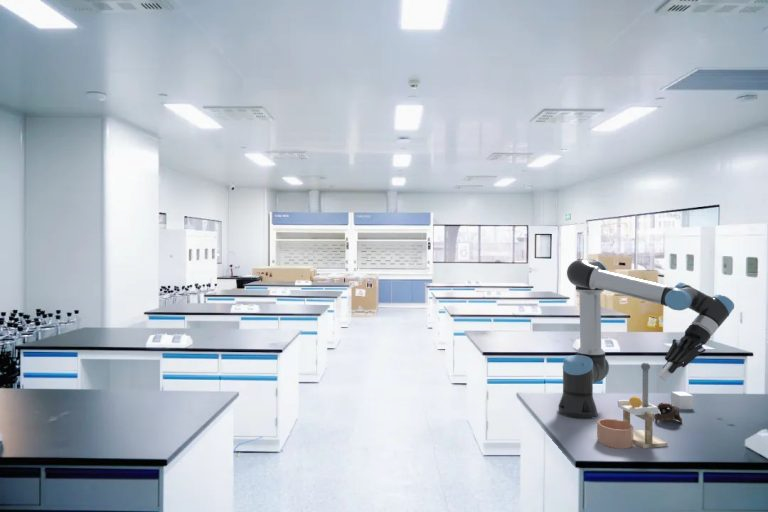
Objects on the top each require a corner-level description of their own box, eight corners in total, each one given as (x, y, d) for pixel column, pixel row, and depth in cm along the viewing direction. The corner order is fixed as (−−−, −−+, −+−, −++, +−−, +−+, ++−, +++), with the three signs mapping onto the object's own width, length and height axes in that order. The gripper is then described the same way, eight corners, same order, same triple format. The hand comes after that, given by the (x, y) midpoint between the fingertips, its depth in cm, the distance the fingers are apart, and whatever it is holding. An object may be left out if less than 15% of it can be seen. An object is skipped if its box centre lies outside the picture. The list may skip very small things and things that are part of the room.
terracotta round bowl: (593, 443, 169) (594, 425, 169) (602, 434, 178) (602, 416, 178) (628, 451, 162) (628, 432, 162) (635, 441, 171) (635, 423, 171)
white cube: (679, 409, 207) (679, 395, 207) (670, 405, 213) (670, 391, 213) (693, 409, 207) (693, 395, 207) (684, 405, 213) (684, 391, 213)
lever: (639, 413, 177) (639, 359, 177) (658, 422, 168) (658, 365, 168) (617, 415, 175) (618, 360, 175) (635, 423, 166) (635, 366, 166)
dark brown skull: (689, 427, 187) (682, 410, 185) (665, 436, 188) (658, 420, 187) (672, 410, 198) (666, 394, 197) (650, 418, 200) (643, 402, 198)
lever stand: (641, 433, 179) (642, 401, 179) (667, 446, 167) (667, 412, 167) (619, 434, 177) (619, 402, 177) (643, 448, 165) (643, 413, 165)
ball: (628, 407, 171) (628, 396, 171) (630, 405, 174) (630, 394, 174) (640, 410, 169) (640, 398, 169) (642, 407, 172) (642, 396, 172)
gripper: (722, 340, 170) (682, 389, 167) (692, 334, 183) (654, 380, 180) (710, 326, 169) (669, 375, 166) (680, 321, 182) (642, 366, 179)
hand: (661, 377), depth 173 cm, fingers closed
